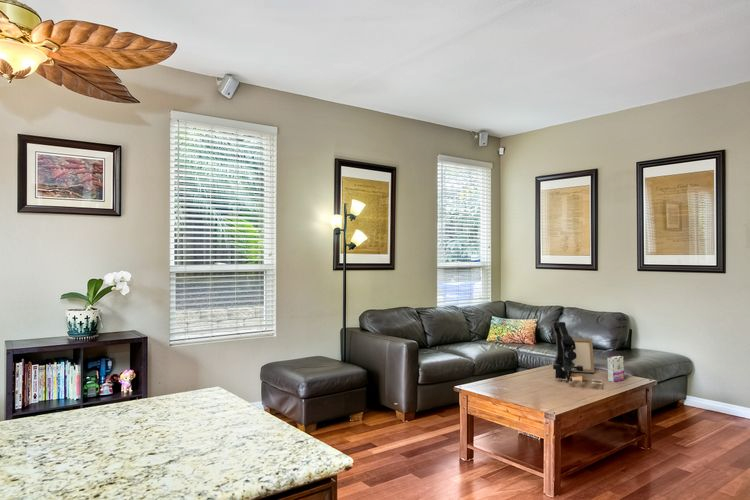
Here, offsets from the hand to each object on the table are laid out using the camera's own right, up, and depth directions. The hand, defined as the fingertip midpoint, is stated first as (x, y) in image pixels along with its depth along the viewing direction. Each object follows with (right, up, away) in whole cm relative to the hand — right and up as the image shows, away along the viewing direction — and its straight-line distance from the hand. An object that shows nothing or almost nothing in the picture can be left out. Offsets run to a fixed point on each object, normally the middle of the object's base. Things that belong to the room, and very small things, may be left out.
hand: (568, 380), depth 339 cm
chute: (+10, -3, -4) cm, 11 cm away
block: (+5, -2, -2) cm, 6 cm away
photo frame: (+22, -4, +40) cm, 45 cm away
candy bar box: (+37, -3, +10) cm, 38 cm away
